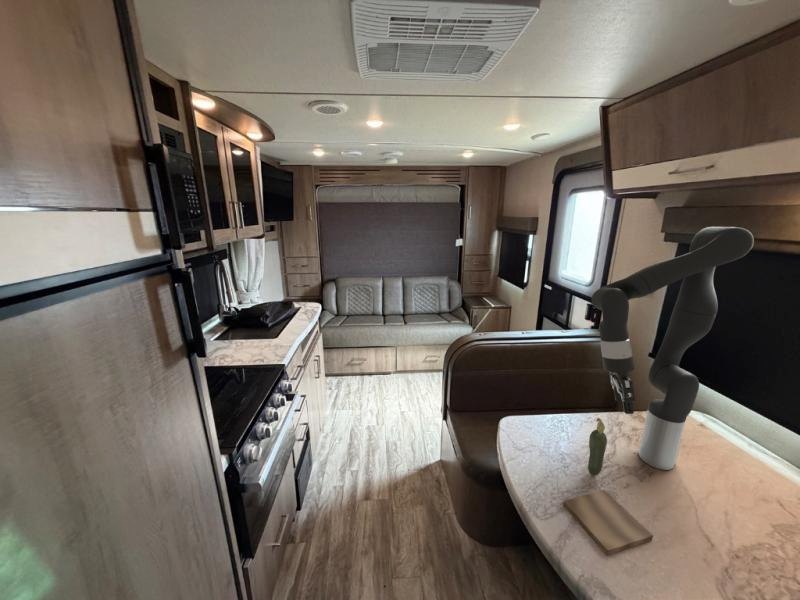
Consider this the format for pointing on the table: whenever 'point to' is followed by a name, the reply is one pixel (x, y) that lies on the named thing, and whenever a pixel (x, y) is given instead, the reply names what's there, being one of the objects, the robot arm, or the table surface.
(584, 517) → the cutting board
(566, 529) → the table surface
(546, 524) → the table surface
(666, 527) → the table surface
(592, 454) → the vegetable
